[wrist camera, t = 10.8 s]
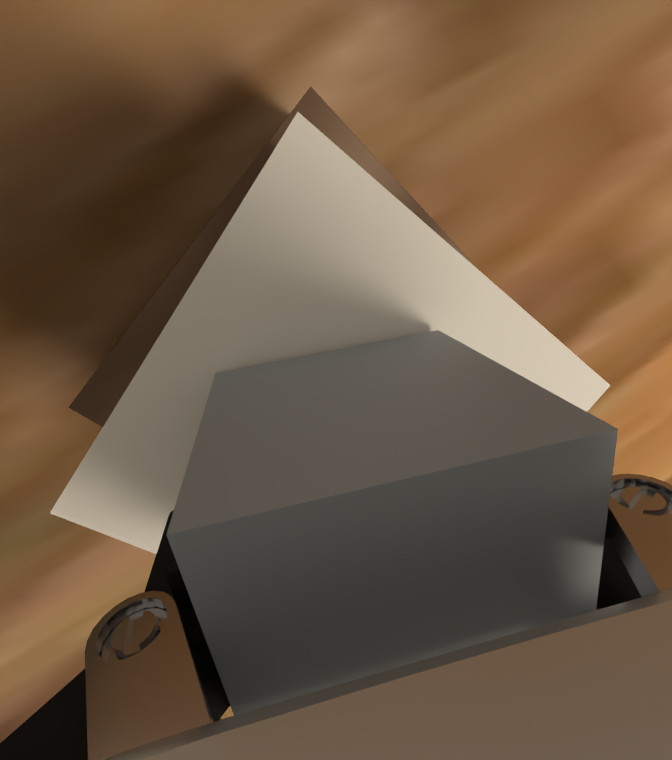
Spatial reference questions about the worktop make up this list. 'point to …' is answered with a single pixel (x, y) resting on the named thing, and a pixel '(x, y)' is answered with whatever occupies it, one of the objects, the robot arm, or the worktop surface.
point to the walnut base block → (155, 315)
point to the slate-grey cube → (384, 513)
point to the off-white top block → (298, 322)
